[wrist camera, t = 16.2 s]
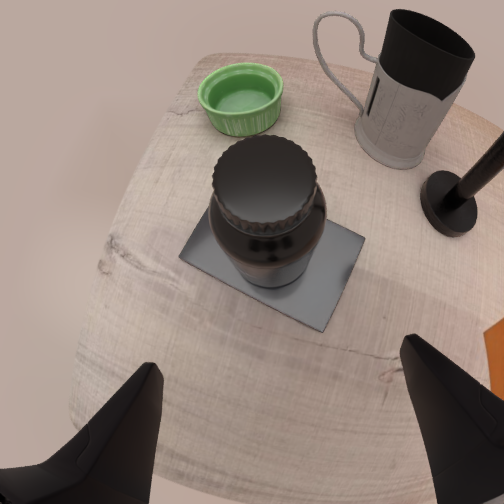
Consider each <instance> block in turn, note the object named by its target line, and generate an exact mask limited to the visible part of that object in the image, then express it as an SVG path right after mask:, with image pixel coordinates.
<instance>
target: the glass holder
mask: <svg viewBox="0 0 504 504" xmlns="http://www.w3.org/2000/svg"><path fill="white" fill-rule="evenodd" d="M327 16H342V17H344V18H347V19H349V20H350V21H351V22H353V24H354V25H355V26H356V27H357V29H358V31H359V35H360V45H359V51H360V54H361V55H362V57H363V58H365V59H366V60H368V61H371V62H373V63H376V67H375V71H374V74H373V78H372V82H371V86H370V89H369V93H368V96H367V100H366V103H365V107H364V110H363V107H362V105H361V103H360V102H359V101H358V100H357V98H356V97H355V96H354V95H353V94H352V93H351V92H350V91H349V90H348V89H347V88H346V87H345V86H344V85H343V84H342V83H341V82H340V81H339V80H338V79H337V78H336V77H335V76H334V74H333V73H332V72H331V71H330V69H329V68H328V66H327V64H326V63H325V61H324V59H323V57H322V55H321V53H320V49H319V45H318V39H317V29H318V24H319V22H320V21H321V19H322V18H324V17H327ZM313 45H314V49H315V53H316V56H317V58H318V60H319V62H320V65H321V66H322V68H323V70H324V72H325V73H326V75H327V76H328V77H329V78H330V79H331V80H332V81H333V82H334V83H335V84H336V85H337V86H338V87H339V88H340V90H341V91H342V92H343V93H345V94H346V95H347V96H348V97H349V98H350V99H351V101H352V102H353V103H354V104H355V105H356V106H357V107H358V109H359V110H360V113H359V117H358V119H357V120H356V123H355V135H356V138H357V140H358V142H359V144H360V145H361V147H362V148H363V149H364V151H365V152H366V153H367V154H368V155H370V156H371V157H372V158H373V159H375V160H376V161H378V162H380V163H381V164H384V165H386V166H388V167H391V168H395V169H410V168H413V167H416V166H417V165H418V164H420V162H421V161H422V160H423V157H424V153H425V148H426V146H427V145H428V143H429V142H430V140H431V138H432V137H433V135H434V134H435V132H436V130H437V129H438V127H439V126H440V124H441V122H442V121H443V119H444V117H445V116H446V114H447V112H448V111H449V109H450V107H451V106H452V104H453V102H454V100H455V99H456V97H457V95H458V93H459V92H460V90H461V88H462V86H463V84H464V82H465V81H466V76H467V72H468V70H469V68H470V66H471V64H472V62H473V60H474V58H475V53H474V51H473V49H472V48H471V47H470V45H469V44H468V43H467V42H466V41H465V40H464V39H463V38H462V37H461V36H459V35H458V34H457V33H456V32H454V31H453V30H451V29H450V28H449V27H447V26H445V25H444V24H442V23H440V22H438V21H436V20H434V19H432V18H430V17H428V16H425V15H423V14H420V13H417V12H414V11H410V10H404V9H396V10H392V11H391V13H390V17H389V22H388V26H387V31H386V35H385V39H384V43H383V48H382V52H381V53H380V54H379V55H378V58H375V57H372V56H369V55H367V54H366V53H365V52H364V49H363V48H364V31H363V28H362V26H361V25H360V23H359V22H358V21H357V20H356V19H355V18H354V17H353V16H351V15H349V14H347V13H345V12H339V11H329V12H326V13H323V14H321V15H320V16H319V17H318V18H317V19H316V21H315V22H314V27H313Z"/></svg>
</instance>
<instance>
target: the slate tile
mask: <svg viewBox="0 0 504 504" xmlns="http://www.w3.org/2000/svg"><path fill="white" fill-rule="evenodd" d="M364 240H365V237H363V236H361V235H359V234H357V233H355V232H353V231H351V230H349V229H347V228H345V227H342V226H340V225H338V224H336V223H334V222H332V221H330V220H328V219H326V223H325V228H324V231H323V234H322V236H321V238H320V240H319V242H318V245H317V247H316V249H315V251H314V253H313V255H312V257H311V259H310V261H309V264H308V265H307V267H306V269H305V270H304V271H303V273H302V274H301V275H300V276H299V277H297V278H296V279H295V280H293V281H292V282H290V283H288V284H286V285H283V286H279V287H263V286H259V285H256V284H253V283H251V282H249V281H248V280H246V279H245V278H244V277H243V276H242V275H241V274H240V273H239V272H238V271H237V270H236V269H235V267H234V266H233V264H232V263H231V261H230V260H229V259H228V257H227V256H226V254H225V253H224V252H223V250H222V249H221V247H220V246H219V244H218V243H217V241H216V239H215V237H214V235H213V233H212V230H211V227H210V223H209V206H208V208H207V210H206V211H205V213H204V215H203V216H202V218H201V219H200V221H199V223H198V224H197V226H196V228H195V229H194V231H193V233H192V234H191V236H190V238H189V240H188V241H187V243H186V245H185V246H184V248H183V250H182V251H181V253H180V255H179V258H180V259H182V260H184V261H185V262H187V263H189V264H191V265H192V266H194V267H196V268H198V269H200V270H201V271H203V272H205V273H207V274H209V275H211V276H212V277H214V278H216V279H218V280H220V281H222V282H223V283H225V284H227V285H229V286H231V287H233V288H235V289H237V290H238V291H240V292H242V293H244V294H246V295H248V296H250V297H252V298H254V299H256V300H257V301H259V302H261V303H263V304H265V305H267V306H269V307H271V308H273V309H275V310H277V311H279V312H281V313H283V314H285V315H287V316H289V317H291V318H293V319H295V320H297V321H299V322H301V323H303V324H305V325H307V326H309V327H311V328H313V329H315V330H317V331H319V332H321V333H323V332H324V330H325V328H326V326H327V324H328V322H329V320H330V318H331V315H332V313H333V311H334V309H335V307H336V305H337V303H338V301H339V299H340V296H341V294H342V292H343V290H344V288H345V285H346V283H347V281H348V279H349V276H350V274H351V272H352V269H353V267H354V265H355V262H356V260H357V258H358V255H359V253H360V250H361V248H362V245H363V243H364Z"/></svg>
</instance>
